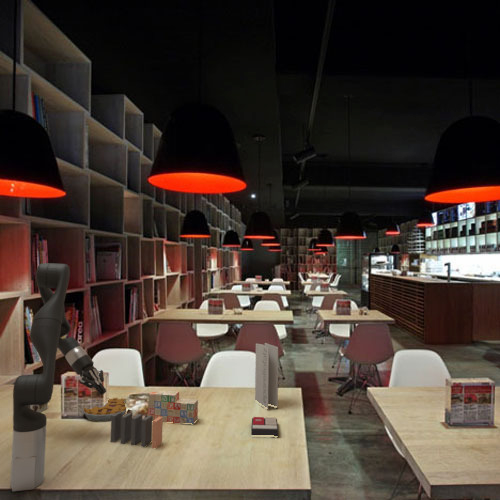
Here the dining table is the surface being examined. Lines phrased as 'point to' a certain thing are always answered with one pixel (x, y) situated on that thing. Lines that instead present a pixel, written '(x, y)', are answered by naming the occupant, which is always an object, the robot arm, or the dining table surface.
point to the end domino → (157, 432)
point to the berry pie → (106, 410)
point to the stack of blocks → (172, 407)
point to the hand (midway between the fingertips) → (104, 393)
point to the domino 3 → (136, 429)
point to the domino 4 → (146, 431)
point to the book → (264, 426)
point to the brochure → (266, 374)
